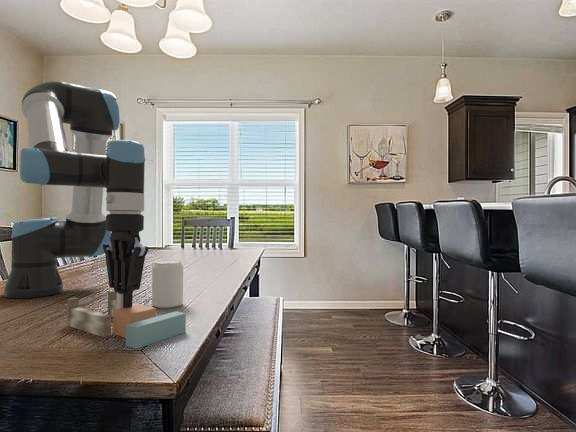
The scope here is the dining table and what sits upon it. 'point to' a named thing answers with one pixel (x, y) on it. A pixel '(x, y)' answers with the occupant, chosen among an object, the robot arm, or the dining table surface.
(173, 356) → the dining table surface
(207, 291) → the dining table surface
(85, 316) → the parallel beige rails
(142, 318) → the block
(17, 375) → the dining table surface
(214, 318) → the dining table surface
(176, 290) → the beverage can
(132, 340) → the stop block
